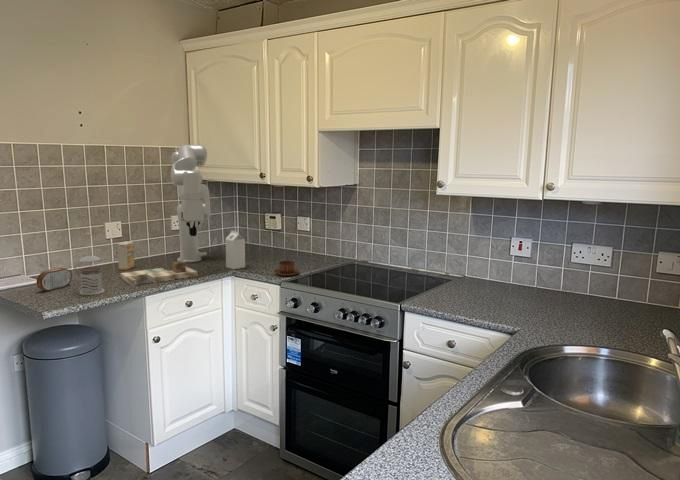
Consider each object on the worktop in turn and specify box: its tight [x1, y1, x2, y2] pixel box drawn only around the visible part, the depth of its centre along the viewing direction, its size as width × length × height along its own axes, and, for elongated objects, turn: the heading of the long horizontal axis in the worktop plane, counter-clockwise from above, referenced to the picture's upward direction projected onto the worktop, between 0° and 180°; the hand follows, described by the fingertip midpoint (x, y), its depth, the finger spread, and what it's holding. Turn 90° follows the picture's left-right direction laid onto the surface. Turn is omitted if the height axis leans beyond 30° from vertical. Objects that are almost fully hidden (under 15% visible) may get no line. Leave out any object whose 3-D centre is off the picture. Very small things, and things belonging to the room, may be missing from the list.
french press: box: [72, 232, 106, 296], centre depth 207 cm, size 10×12×25 cm
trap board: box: [119, 266, 198, 287], centre depth 235 cm, size 30×17×2 cm, turn 130°
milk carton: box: [225, 230, 246, 270], centre depth 257 cm, size 7×7×19 cm
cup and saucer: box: [273, 260, 300, 277], centre depth 245 cm, size 12×12×6 cm
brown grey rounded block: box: [36, 267, 73, 292], centre depth 213 cm, size 15×3×8 cm, turn 157°
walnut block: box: [171, 261, 187, 273], centre depth 236 cm, size 4×4×4 cm
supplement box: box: [117, 241, 135, 271], centre depth 252 cm, size 8×5×13 cm, turn 179°
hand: (193, 235), depth 239 cm, fingers closed
